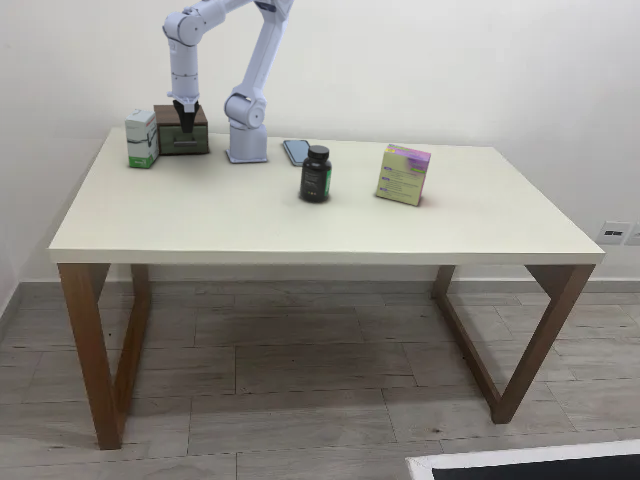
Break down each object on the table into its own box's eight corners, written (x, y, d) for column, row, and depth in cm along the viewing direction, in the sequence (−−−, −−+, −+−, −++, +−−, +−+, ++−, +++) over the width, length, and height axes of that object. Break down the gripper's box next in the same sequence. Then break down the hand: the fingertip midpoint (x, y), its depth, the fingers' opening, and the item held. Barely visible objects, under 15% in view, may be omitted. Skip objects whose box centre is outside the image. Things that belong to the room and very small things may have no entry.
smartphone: (294, 163, 130) (282, 140, 142) (294, 166, 130) (282, 143, 142) (321, 162, 132) (307, 139, 144) (320, 166, 133) (306, 142, 144)
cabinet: (208, 153, 132) (207, 122, 127) (159, 155, 128) (156, 122, 123) (201, 134, 142) (200, 104, 138) (155, 135, 138) (153, 104, 134)
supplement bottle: (333, 200, 117) (339, 153, 110) (307, 205, 113) (312, 156, 107) (319, 187, 121) (324, 141, 115) (294, 192, 118) (298, 144, 112)
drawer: (209, 158, 127) (208, 133, 123) (162, 160, 123) (160, 134, 120) (200, 134, 140) (199, 110, 136) (158, 135, 136) (156, 111, 133)
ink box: (149, 169, 121) (144, 122, 114) (128, 167, 120) (123, 119, 114) (159, 154, 128) (155, 109, 122) (140, 152, 128) (135, 107, 121)
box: (421, 196, 123) (431, 152, 117) (417, 206, 118) (428, 161, 112) (380, 186, 125) (388, 142, 119) (375, 196, 121) (383, 151, 114)
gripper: (163, 63, 113) (166, 121, 120) (168, 82, 101) (172, 144, 109) (194, 64, 115) (196, 120, 122) (203, 82, 104) (204, 143, 111)
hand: (187, 132), depth 116 cm, fingers closed
